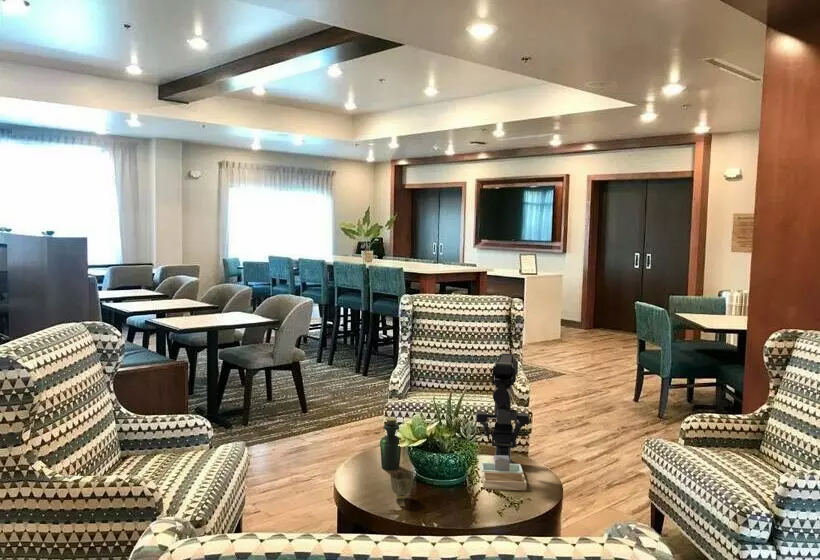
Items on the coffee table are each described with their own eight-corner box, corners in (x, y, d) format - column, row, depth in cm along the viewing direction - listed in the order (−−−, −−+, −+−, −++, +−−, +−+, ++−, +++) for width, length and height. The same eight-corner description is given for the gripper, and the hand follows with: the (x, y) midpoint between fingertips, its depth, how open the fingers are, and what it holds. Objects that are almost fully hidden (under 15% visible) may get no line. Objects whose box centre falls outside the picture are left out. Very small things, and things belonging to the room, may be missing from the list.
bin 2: (482, 481, 221) (482, 471, 220) (523, 483, 220) (523, 473, 220) (483, 491, 212) (483, 480, 212) (526, 493, 211) (526, 482, 211)
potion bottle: (400, 463, 238) (401, 415, 237) (402, 470, 229) (403, 421, 228) (378, 463, 236) (379, 416, 235) (380, 471, 228) (381, 422, 227)
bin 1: (480, 471, 230) (480, 462, 230) (519, 473, 229) (520, 464, 229) (481, 480, 222) (482, 470, 222) (522, 482, 221) (523, 472, 221)
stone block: (493, 471, 228) (494, 455, 228) (507, 472, 228) (508, 455, 228) (494, 476, 223) (495, 459, 223) (509, 477, 223) (509, 460, 223)
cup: (401, 492, 210) (402, 468, 209) (417, 498, 205) (418, 474, 204) (385, 498, 205) (385, 473, 204) (400, 505, 199) (401, 480, 199)
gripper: (477, 402, 220) (476, 447, 221) (532, 404, 219) (530, 449, 219) (476, 395, 231) (475, 437, 232) (528, 397, 230) (526, 439, 231)
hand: (501, 441), depth 228 cm, fingers open, 9 cm apart
